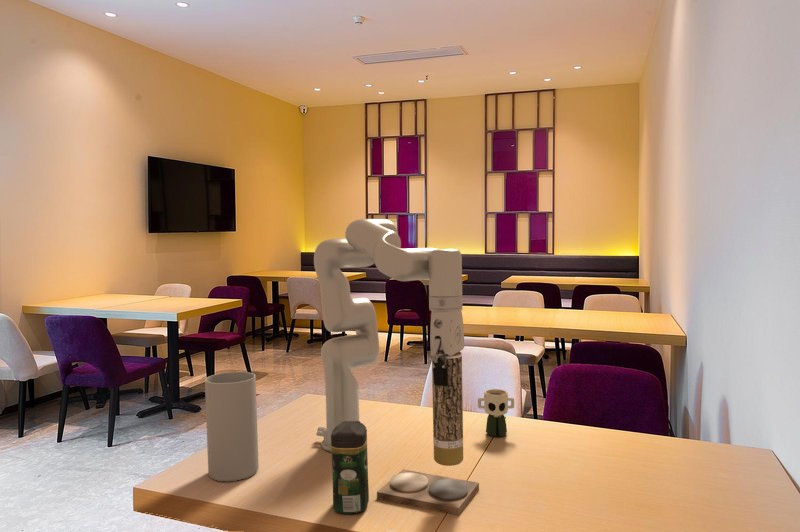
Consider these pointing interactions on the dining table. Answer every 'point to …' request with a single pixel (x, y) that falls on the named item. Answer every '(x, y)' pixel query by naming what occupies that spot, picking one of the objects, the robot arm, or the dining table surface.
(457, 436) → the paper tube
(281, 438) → the dining table surface
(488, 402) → the character mug
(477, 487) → the board
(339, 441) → the coffee jar
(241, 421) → the cylinder vase
